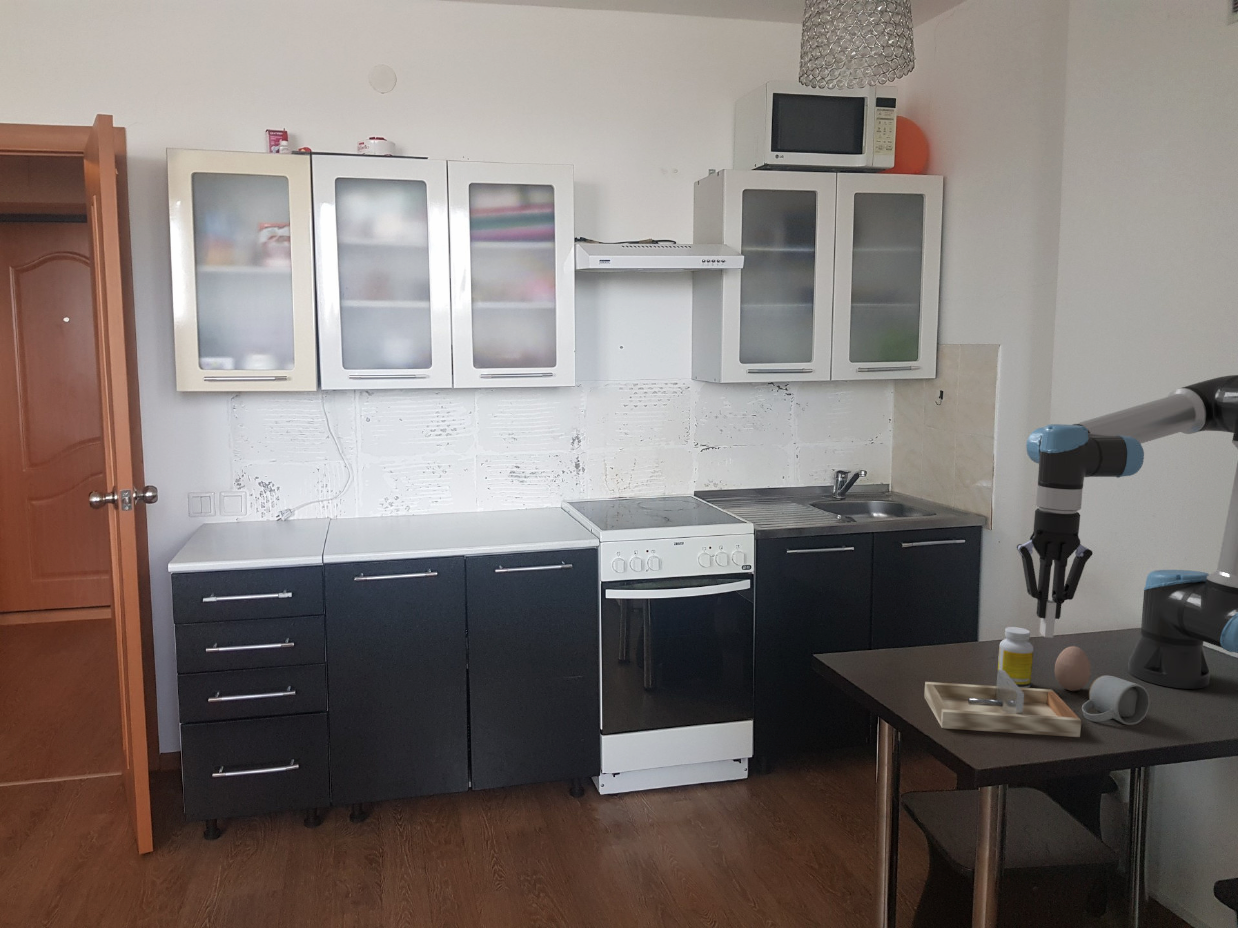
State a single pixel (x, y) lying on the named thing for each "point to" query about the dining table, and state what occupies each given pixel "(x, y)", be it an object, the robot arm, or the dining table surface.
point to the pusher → (1004, 695)
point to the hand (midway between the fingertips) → (1046, 634)
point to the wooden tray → (1001, 711)
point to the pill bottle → (1016, 656)
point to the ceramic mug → (1117, 700)
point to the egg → (1072, 668)
